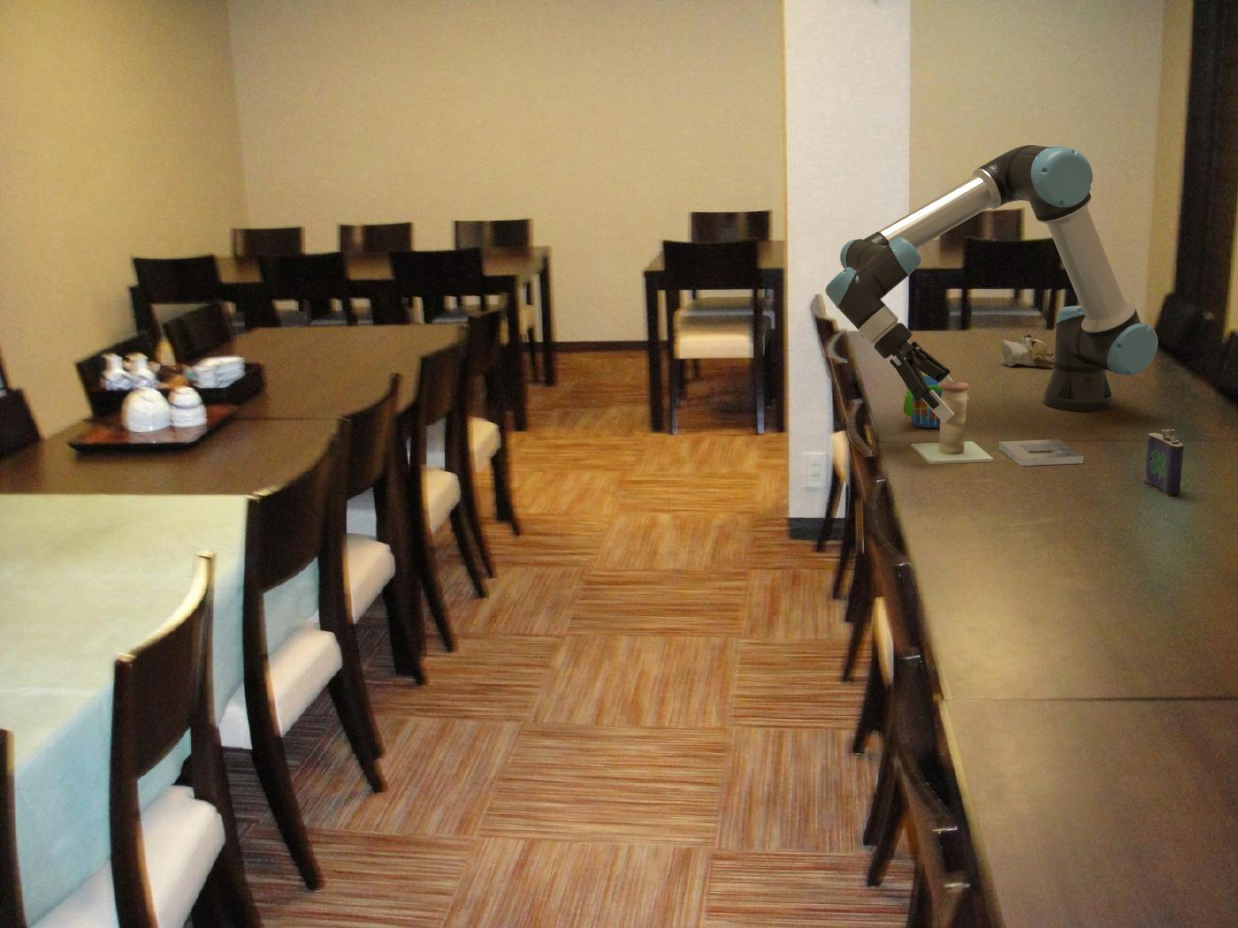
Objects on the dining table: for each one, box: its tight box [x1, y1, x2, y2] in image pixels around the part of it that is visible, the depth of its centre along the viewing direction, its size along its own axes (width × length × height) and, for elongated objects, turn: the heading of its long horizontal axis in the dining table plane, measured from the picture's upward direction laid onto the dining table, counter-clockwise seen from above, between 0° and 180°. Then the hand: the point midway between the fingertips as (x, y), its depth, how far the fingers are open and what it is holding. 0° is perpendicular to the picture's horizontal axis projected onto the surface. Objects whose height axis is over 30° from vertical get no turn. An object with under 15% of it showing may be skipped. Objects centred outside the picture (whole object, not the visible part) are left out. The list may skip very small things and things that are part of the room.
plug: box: [938, 380, 969, 454], centre depth 261 cm, size 5×5×14 cm
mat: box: [911, 440, 994, 465], centre depth 263 cm, size 13×13×1 cm
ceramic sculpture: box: [1001, 334, 1055, 368], centre depth 338 cm, size 11×9×15 cm
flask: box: [1143, 428, 1185, 498], centre depth 236 cm, size 10×3×12 cm, turn 8°
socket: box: [998, 438, 1084, 467], centre depth 260 cm, size 13×13×2 cm
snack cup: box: [902, 375, 955, 429], centre depth 284 cm, size 16×10×10 cm
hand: (956, 410), depth 260 cm, fingers open, 13 cm apart
